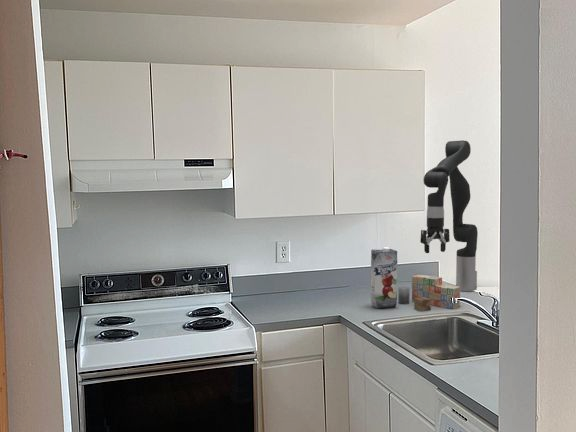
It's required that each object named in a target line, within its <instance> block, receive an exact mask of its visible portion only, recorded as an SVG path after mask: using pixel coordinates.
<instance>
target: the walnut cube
mask: <svg viewBox="0 0 576 432" xmlns="http://www.w3.org/2000/svg"><path fill="white" fill-rule="evenodd" d="M431 308H432V305H431V299H428V298H425V297H419V298H414V302H413V309H414V310H415V311H418V312H421V313H422V312H429V311H431Z"/></svg>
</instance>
